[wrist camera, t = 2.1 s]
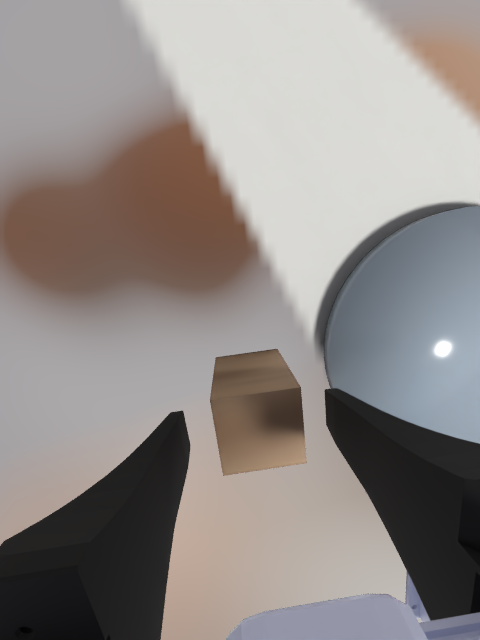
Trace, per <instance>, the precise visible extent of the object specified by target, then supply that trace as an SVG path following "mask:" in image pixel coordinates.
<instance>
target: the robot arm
mask: <svg viewBox="0 0 480 640" xmlns="http://www.w3.org/2000/svg"><path fill="white" fill-rule="evenodd" d="M325 405H326V425H327V427H328V429H329V431H330V433H331V435H332V437H333V439H334V441H335V443H336V445H337V447H338V448H339V450H340V451H341V453H342V454H343V456H344V458H345V459H346V461H347V462H348V464H349V465H350V467H351V469H352V470H353V472H354V473H355V475H356V476H357V478H358V479H359V481H360V483H361V484H362V486H363V487H364V489H365V490H366V492H367V494H368V495H369V497H370V499H371V501H372V503H373V504H374V506H375V508H376V510H377V512H378V514H379V516H380V518H381V520H382V522H383V524H384V525H385V527H386V529H387V531H388V533H389V535H390V537H391V539H392V541H393V543H394V545H395V547H396V549H397V551H398V553H399V555H400V557H401V559H402V561H403V563H404V566H405V568H406V570H407V581H406V604H404V603H403V602H401V601H399V600H397V599H396V598H394V597H392V596H390V595H388V594H363V595H358V596H352V597H346V598H340V599H334V600H328V601H323V602H317V603H311V604H305V605H299V606H293V607H288V608H282V609H276V610H270V611H264V612H262V613H259V614H256V615H253V616H251V617H248V618H245V619H243V620H242V621H241V622H240V623H239V624H238V625H237V626H236V627H235V628H234V629H233V630H232V631H231V632H230V633H229V635H228V636H227V638H226V640H480V444H479V443H475V442H471V441H467V440H463V439H459V438H456V437H452V436H449V435H446V434H442V433H439V432H436V431H433V430H430V429H427V428H424V427H421V426H418V425H415V424H413V423H410V422H407V421H405V420H402V419H400V418H398V417H395V416H393V415H391V414H389V413H386V412H384V411H382V410H380V409H378V408H376V407H374V406H372V405H370V404H368V403H366V402H364V401H362V400H360V399H358V398H356V397H354V396H352V395H350V394H348V393H346V392H344V391H342V390H340V389H338V388H332V389H326V390H325ZM189 454H190V441H189V437H188V432H187V427H186V423H185V418H184V413H183V411H178V412H171V413H170V414H169V415H168V416H167V417H166V418H165V419H164V420H163V421H162V423H161V424H160V425H159V426H158V427H157V428H156V429H155V430H154V431H153V432H152V433H151V434H150V436H149V437H148V438H147V439H146V440H145V441H144V442H143V443H142V444H141V445H140V446H139V447H138V448H137V449H136V450H135V451H134V452H133V453H132V454H131V455H130V456H129V457H127V458H126V459H125V460H124V461H123V462H122V463H121V464H120V465H118V466H117V467H116V468H115V469H114V470H113V471H111V472H110V473H109V474H108V475H107V476H105V477H104V478H103V479H101V480H100V481H99V482H97V483H96V484H95V485H93V486H92V487H90V488H89V489H88V490H86V491H85V492H84V493H82V494H81V495H80V496H78V497H77V498H75V499H74V500H72V501H71V502H69V503H68V504H66V505H65V506H63V507H62V508H60V509H59V510H57V511H55V512H54V513H52V514H51V515H49V516H47V517H46V518H44V519H42V520H41V521H39V522H37V523H36V524H34V525H32V526H30V527H28V528H27V529H25V530H23V531H22V532H20V533H18V534H16V535H14V536H13V537H11V538H9V539H7V540H5V541H4V542H3V543H2V544H1V546H0V640H160V639H161V630H162V620H163V612H164V603H165V594H166V585H167V578H168V570H169V562H170V554H171V548H172V541H173V533H174V528H175V522H176V517H177V513H178V509H179V504H180V500H181V496H182V491H183V486H184V483H185V478H186V474H187V469H188V463H189ZM417 618H421V620H422V623H419V622H418V621H417Z"/></svg>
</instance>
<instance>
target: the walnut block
mask: <svg viewBox="0 0 480 640" xmlns="http://www.w3.org/2000/svg"><path fill="white" fill-rule="evenodd" d="M210 403H211V408H212V413H213V420H214V425H215V431H216V436H217V442H218V448H219V454H220V459H221V465H222V470H223V476H224V475H231V474H237V473H243V472H250V471H257V470H263V469H270V468H277V467H284V466H290V465H297V464H303V463H307V461H306V448H305V436H304V423H303V410H302V397H301V387H300V385H299V384H298V382H297V380H296V379H295V377H294V375H293V374H292V372H291V370H290V369H289V367H288V366H287V364H286V362H285V361H284V359H283V357H282V356H281V354H280V353H279V351H278V349H272V350H265V351H258V352H251V353H244V354H236V355H229V356H223V357H216V360H215V367H214V375H213V382H212V390H211V398H210Z"/></svg>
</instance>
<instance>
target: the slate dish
mask: <svg viewBox="0 0 480 640" xmlns="http://www.w3.org/2000/svg"><path fill="white" fill-rule="evenodd" d="M324 361H325V369H326V374H327V378H328V381H329V385H330V387H331V389H332V388H338V389H340V390H342V391H344V392H346V393H348V394H350V395H352V396H354V397H356V398H358V399H360V400H362V401H364V402H366V403H368V404H370V405H372V406H374V407H376V408H378V409H380V410H382V411H384V412H386V413H389V414H391V415H393V416H395V417H398V418H400V419H402V420H405V421H407V422H410V423H413V424H415V425H418V426H421V427H424V428H427V429H430V430H433V431H436V432H439V433H442V434H446V435H449V436H452V437H456V438H459V439H463V440H467V441H471V442H475V443H479V444H480V206H470V207H464V208H459V209H454V210H449V211H445V212H442V213H438V214H434V215H431V216H428V217H425V218H422V219H419V220H417V221H415V222H413V223H410V224H408V225H406V226H404V227H402V228H400V229H399V230H397V231H396V232H394V233H393V234H391V235H390V236H388V237H387V238H385V239H384V240H383V241H381V242H380V243H379V244H378V245H377V246H375V247H374V248H373V249H372V250H371V251H370V252H369V253H368V254H367V255H366V256H365V257H364V258H363V259H362V260H361V261H360V262H359V263H358V265H357V266H356V267H355V269H354V270H353V271H352V273H351V274H350V275H349V277H348V278H347V279H346V281H345V283H344V285H343V286H342V288H341V290H340V292H339V293H338V295H337V298H336V300H335V302H334V305H333V307H332V310H331V313H330V316H329V320H328V323H327V327H326V334H325V341H324Z"/></svg>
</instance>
